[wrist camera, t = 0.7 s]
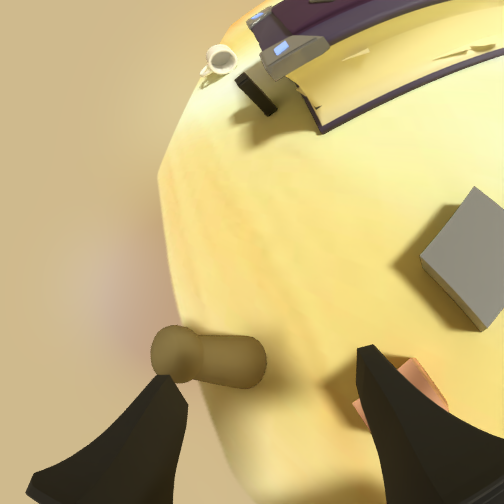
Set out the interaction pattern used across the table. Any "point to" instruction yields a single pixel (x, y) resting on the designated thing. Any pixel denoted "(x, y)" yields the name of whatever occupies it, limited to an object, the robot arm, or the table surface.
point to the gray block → (471, 258)
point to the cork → (208, 357)
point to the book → (372, 48)
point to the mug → (219, 60)
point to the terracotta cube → (419, 380)
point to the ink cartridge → (255, 94)
